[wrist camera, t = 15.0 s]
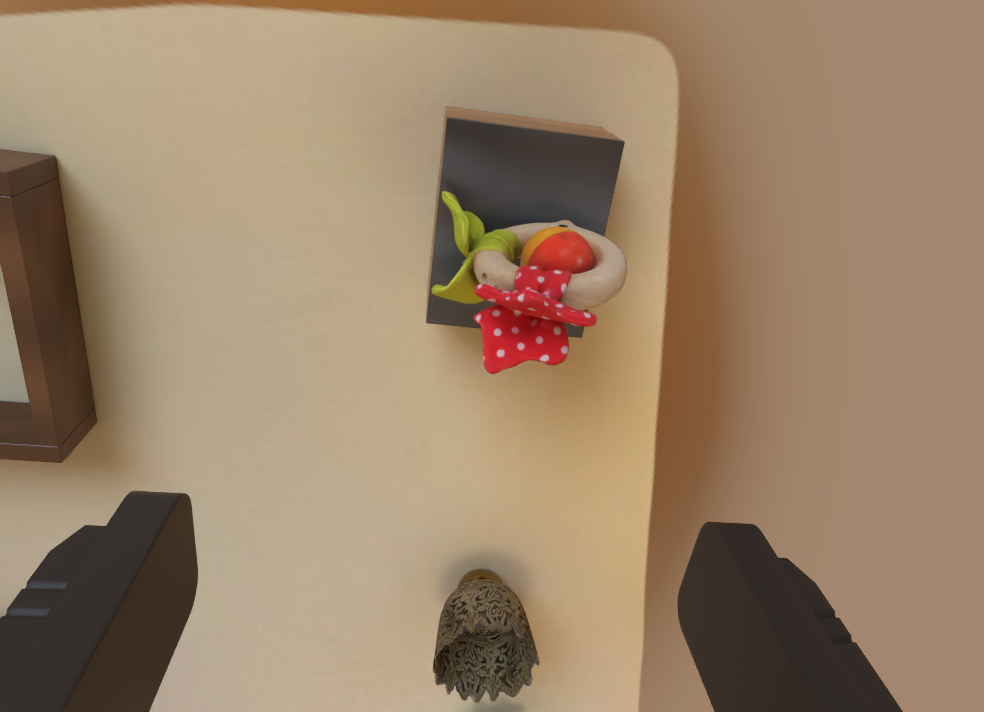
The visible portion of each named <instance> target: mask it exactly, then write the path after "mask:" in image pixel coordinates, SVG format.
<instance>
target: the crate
mask: <svg viewBox="0 0 984 712" xmlns="http://www.w3.org/2000/svg"><path fill="white" fill-rule="evenodd" d="M0 262H1V267H2V272H3V277H4V281H5V286H6V291H7V296H8V301H9V305H10V310H11V315H12V320H13V325H14V330H15V334H16V339H17V344H18V349H19V354H20V358H21V363H22V368H23V373H24V378H25V383H26V387H27V392H28V397H29V402H30V403H17V402H4V401H0V459H10V460H26V461H42V462H58V463H62V462H63V461H64V460H65V459H66V458H67V457H68V456H69V454H70V453H71V452H72V451H73V450H74V449H75V447H76V446H77V445H78V444H79V443H80V442H81V440H82V439H83V438H84V437H85V436H86V435H87V433H88V432H89V431H90V430H91V429H92V428H93V426H94V425H95V424H96V416H95V409H94V403H93V396H92V390H91V384H90V377H89V371H88V365H87V358H86V352H85V345H84V339H83V333H82V326H81V320H80V314H79V307H78V301H77V294H76V288H75V282H74V275H73V269H72V263H71V256H70V250H69V243H68V237H67V231H66V224H65V218H64V211H63V205H62V199H61V192H60V186H59V180H58V171H57V165H56V158H55V156H51V155H43V154H35V153H26V152H18V151H9V150H1V149H0Z"/></svg>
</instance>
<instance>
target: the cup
mask: <svg viewBox="0 0 984 712" xmlns="http://www.w3.org/2000/svg"><path fill="white" fill-rule="evenodd" d="M535 664H537V665H539V658H538V654H537V650H536V647H535V644H534V640H533V637H532V633H531V630H530V626H529V623H528V620H527V617H526V614H525V611H524V609H523V606H522V604H521V602H520V600H519V599H518V597H517V596H516V595H515V593H514V592H513V591H512V590H511V589H510V588H508V587H507V586H505V585H504V584H503V583H502V581H501V580H500V578H499V577H498V576H497V575H496V574H495V573H493V572H492V571H489V570H484V569H479V570H474V571H471V572H469V573H467V574H466V575H465V576H464V577H463V578H462V579H461V581H460V582H459V585H458V588H457V589H456V590H455V591H454V592H453V593H452V594H451V595H450V596H449V597H448V599H447V601H446V603H445V605H444V607H443V610H442V613H441V617H440V621H439V627H438V634H437V641H436V649H435V657H434V664H433V672H434V673H435V682H436V684H437V685H440V684H441V685H442V684H444V683H445V685H446V686H445V688H446V691H447V694H448V695H449V694H450V693H451V692H452V691H453V689H454V686H455V685H456V690H457V692H459V694H460V696H461V698H462V699H463V700H467V698H468V696H469V694H470V697H471V698H472V699H473V700H474V702H476V703H477V702H479V701H480V700H481V698H482V697H483V695H484V693H485V690H487V692H488V693H489V696H490V700H491V701H492V702H493V701H495V700H496V699H497V697H498V695H499V693H498V692H502V691H503V692H505V694H506V695H508V696H511V697H515V696H516V695H517V694H518V693H519V691H520V689H521V688H522V685H523V684H525V685H526V686H530V685H531V683H532V675H531V668H532V666H533V667H534V666H535ZM434 669H435V671H434Z"/></svg>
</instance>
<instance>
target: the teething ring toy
mask: <svg viewBox="0 0 984 712" xmlns="http://www.w3.org/2000/svg"><path fill="white" fill-rule="evenodd" d="M442 198H443V201H444V203H445V204H446V205H447V206H448V208H449V209H450V211H451V213H452V217H453V221H454V233H455V241H456V244H457V246H458V248H459V250H460V251H461V252H462V254H463V255H464V256H465V257H466V259H465V260H464V262H463V265H462V267H461V268H460V270H459V271H458V273H457V274H456V275H455V277H454V278H453V279H452V281H451V282H450V283H449V284H448V285H447V286H442V285H435V286H433V288H432V294H434V295H436V296H439V297H442V298H446V299H450V300H453V301H457V302H461V303H466V304H475V303H479V302H482V301H484V300H486V301H488V302H492V303H496V304H497V305H493V306H491V307H488V308H486V309H484V310H482V311H480V312H479V313H477V314H476V315H475V316H474V320H475V322H476V323H477V324H480V325H481V329H482V336H483V360H484V366H485V368H486V370H487V372H489V373H490V374H496V373H498V372H501V371H503V370H506V369H508V368H511V367H514V366H516V365H518V364H520V363H522V362H524V361H528V360H535V361H539V362H541V363H543V364H547V365H557V364H559V363H562V362H563V361H564V360H565V359H566V358H567V355H568V350H569V342H568V335H567V332H566V328H565V326H564V323H563V322H565V323H569V324H572V325H575V326H583V327H588V326H593V325H595V323H596V320H597V318H596V316H595V315H594V314H592V313H589V312H585V311H581V310H586V309H590V308H593V307H596V306H598V305H601V304H603V303H605V302H607V301H608V300H610V299H611V298H613V297H614V296H615V295H616V294H617V293H618V292H619V291H620V290H621V288H622V286H623V284H624V281H625V278H626V271H627V262H626V258H625V255H624V254H623V252H622V251H621V250H620V249H619V247H618V246H617V245H615V244H614V243H613V242H612V241H610V240H609V239H607V238H605V237H603V236H601V235H599V234H597V233H595V232H592V231H589V230H586V229H583V228H580V227H577V226H575V225H574V224H573V223H572V222H571V221H569V220H561V221H558V222H553V223H530V224H523V225H517V226H512V227H508V228H505V229H497V230H494V231H492V232H491V233H487V234H485V230H484V225H483V223H482V221H481V220H480V219H479V218H478V217H477V216H476V215H474V214H473V213H471V212H469V211H463V210H462V208H461V206H460V204H459V202H458V200H457V198H456V197H455V195H454V194H452V193H449V192H446V191H443V192H442ZM517 258H521V262H520V267H519V266H516V265H514V264H513V262H514V261H515V260H516V259H517Z"/></svg>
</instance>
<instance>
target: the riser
mask: <svg viewBox="0 0 984 712" xmlns="http://www.w3.org/2000/svg"><path fill="white" fill-rule="evenodd" d="M624 143H625V142H624V141H623V140H621V139H619V138H618V137H616V136H614V135H613V134H611V133H610V132H608V131H606V130H605V129H603V128H601V127H593V126H586V125H579V124H572V123H564V122H557V121H550V120H543V119H535V118H528V117H521V116H514V115H506V114H499V113H492V112H485V111H477V110H470V109H463V108H456V107H448V106H446V108H445V118H444V128H443V138H442V148H441V158H440V168H439V178H438V189H437V199H436V209H435V219H434V229H433V239H432V249H431V259H430V269H429V279H428V289H427V314H426V323H430V324H441V325H451V326H462V327H472V328H481V325H480V324H477V323H476V322H475V320H474V316H475V315H476V314H477V313H479V312H480V311H482V310H484V309H486V308H488V307H491V306H493V305H497V304H496V303H492V302H488V301H486V300H484V301H482V302H479V303H475V304H466V303H461V302H457V301H453V300H450V299H446V298H442V297H439V296H436V295H434V294H432V288H433V286H435V285H442V286H447V285H448V284H449V283H450V282H451V281H452V279H453V278H454V277H455V275H456V274H457V273H458V271H459V270H460V268H461V267H462V265H463V262H464V260H465V259H466V257H465V256H464V255H463V254H462V252H461V251H460V250H459V248H458V246H457V244H456V241H455V233H454V221H453V217H452V213H451V211H450V209H449V208H448V206H447V205H446V204H445V203H444V201H443V198H442V192H443V191H446V192H449V193H452V194H454V195H455V197H456V198H457V200H458V202H459V204H460V206H461V208H462V210H463V211H469V212H471V213H473V214H474V215H476V216H477V217H478V218H479V219H480V220H481V221H482V223H483V225H484V230H485V234H487V233H491V232H492V231H494V230H497V229H505V228H508V227H512V226H517V225H523V224H530V223H553V222H558V221H561V220H569V221H571V222H572V223H573V224H574V225H575V226H577V227H580V228H583V229H586V230H589V231H592V232H595V233H597V234H599V235H601V236H603V237H604V234H605V230H606V225H607V221H608V216H609V212H610V207H611V202H612V198H613V193H614V189H615V184H616V180H617V175H618V170H619V166H620V161H621V157H622V152H623V148H624ZM520 262H521V258H517V259H516V260H515V261H514V262H513V264H514V265H516V266H519V267H520ZM581 311H585V312H588V309H586V310H581ZM563 323H564V326H565V328H566V332H567V335H568V337H578V338H582V335H583V330H584V327H583V326H575V325H572V324H569V323H565V322H563Z"/></svg>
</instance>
